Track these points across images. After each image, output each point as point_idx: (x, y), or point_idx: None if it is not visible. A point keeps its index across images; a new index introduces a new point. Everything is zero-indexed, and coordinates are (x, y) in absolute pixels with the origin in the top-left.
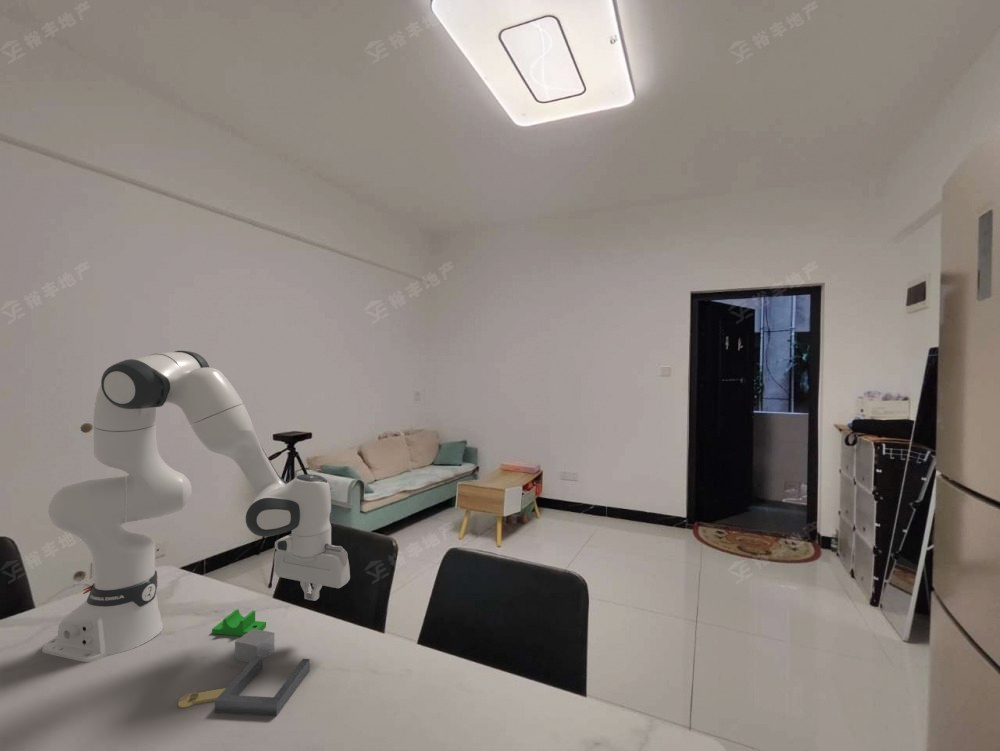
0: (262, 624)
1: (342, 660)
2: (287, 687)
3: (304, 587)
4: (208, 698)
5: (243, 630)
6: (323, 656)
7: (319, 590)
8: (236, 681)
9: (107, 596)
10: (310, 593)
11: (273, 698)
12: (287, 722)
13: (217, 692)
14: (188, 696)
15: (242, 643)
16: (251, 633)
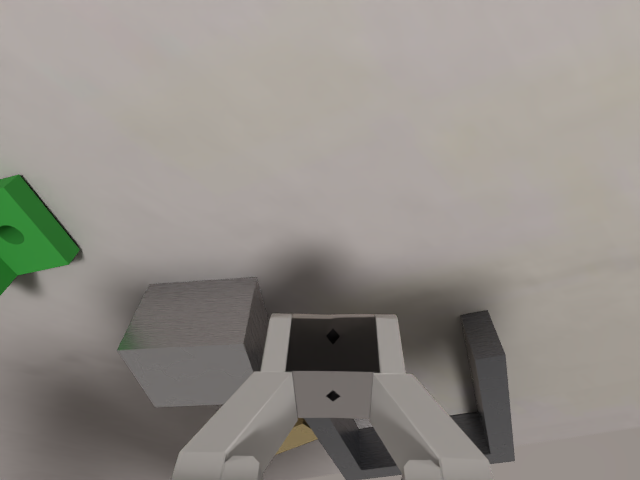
0: (17, 209)
1: (596, 228)
2: (508, 433)
3: (262, 470)
4: (295, 445)
5: (14, 275)
6: (489, 236)
7: (416, 384)
8: (337, 449)
9: None
10: (350, 417)
11: (492, 455)
12: (532, 416)
13: (296, 435)
14: None
15: (192, 404)
16: (153, 369)
